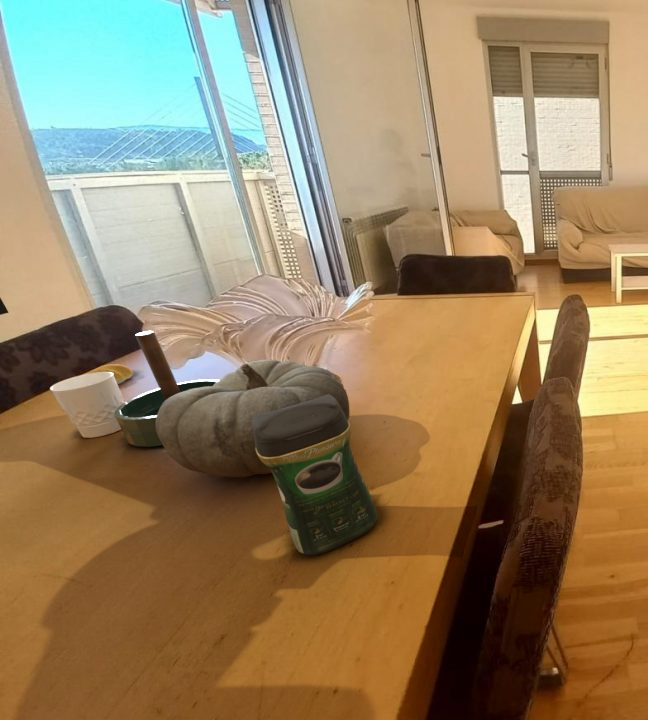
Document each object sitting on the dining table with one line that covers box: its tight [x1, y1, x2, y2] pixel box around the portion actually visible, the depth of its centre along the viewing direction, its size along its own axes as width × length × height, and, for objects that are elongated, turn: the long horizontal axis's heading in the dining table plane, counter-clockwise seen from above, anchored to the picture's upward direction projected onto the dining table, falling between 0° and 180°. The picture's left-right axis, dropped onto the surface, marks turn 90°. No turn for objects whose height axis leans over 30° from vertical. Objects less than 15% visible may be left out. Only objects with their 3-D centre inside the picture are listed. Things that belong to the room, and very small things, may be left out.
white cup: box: [49, 372, 126, 439], centre depth 87 cm, size 8×8×10 cm
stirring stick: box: [134, 330, 181, 401], centre depth 85 cm, size 5×5×18 cm
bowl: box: [114, 378, 220, 448], centre depth 88 cm, size 16×16×6 cm
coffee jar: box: [252, 395, 378, 556], centre depth 59 cm, size 10×8×19 cm
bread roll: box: [82, 363, 134, 386], centre depth 107 cm, size 8×9×4 cm
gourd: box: [155, 358, 351, 478], centre depth 77 cm, size 25×25×17 cm
